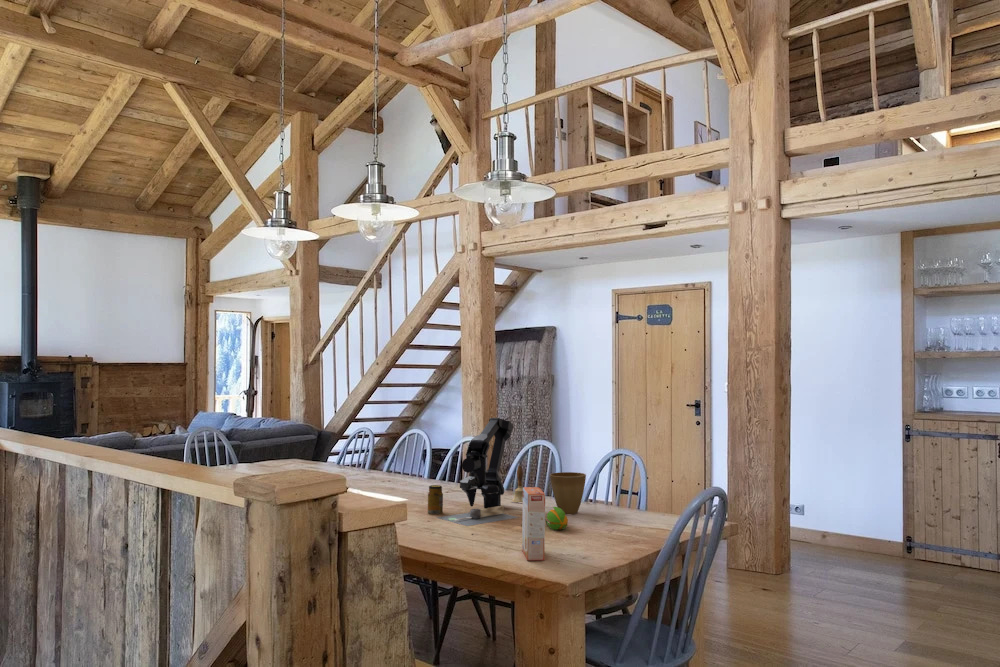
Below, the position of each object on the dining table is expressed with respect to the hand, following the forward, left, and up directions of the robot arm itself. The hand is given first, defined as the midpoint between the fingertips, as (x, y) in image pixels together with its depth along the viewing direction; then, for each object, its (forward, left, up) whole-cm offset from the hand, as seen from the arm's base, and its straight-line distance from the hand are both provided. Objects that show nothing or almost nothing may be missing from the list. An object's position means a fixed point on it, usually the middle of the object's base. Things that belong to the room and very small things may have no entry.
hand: (478, 508), depth 310 cm
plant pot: (-31, +21, -3) cm, 37 cm away
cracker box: (+28, +64, -3) cm, 70 cm away
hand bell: (-33, -11, -3) cm, 34 cm away
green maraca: (-8, +37, -3) cm, 38 cm away
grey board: (+7, +9, -2) cm, 12 cm away
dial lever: (+8, +10, -1) cm, 12 cm away
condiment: (+15, -8, -3) cm, 18 cm away
